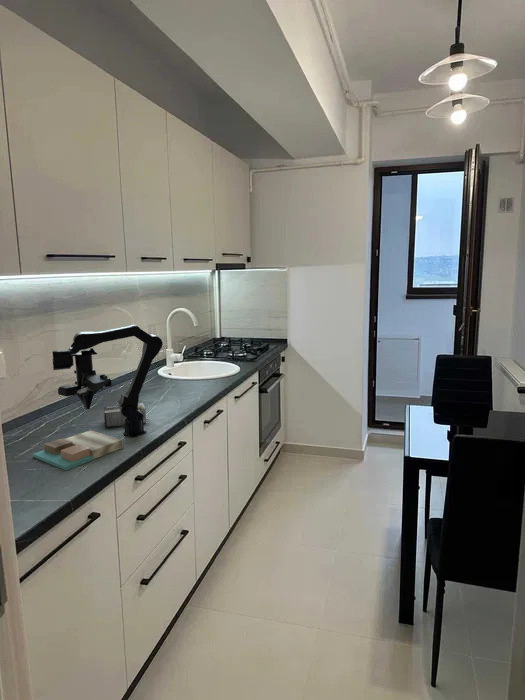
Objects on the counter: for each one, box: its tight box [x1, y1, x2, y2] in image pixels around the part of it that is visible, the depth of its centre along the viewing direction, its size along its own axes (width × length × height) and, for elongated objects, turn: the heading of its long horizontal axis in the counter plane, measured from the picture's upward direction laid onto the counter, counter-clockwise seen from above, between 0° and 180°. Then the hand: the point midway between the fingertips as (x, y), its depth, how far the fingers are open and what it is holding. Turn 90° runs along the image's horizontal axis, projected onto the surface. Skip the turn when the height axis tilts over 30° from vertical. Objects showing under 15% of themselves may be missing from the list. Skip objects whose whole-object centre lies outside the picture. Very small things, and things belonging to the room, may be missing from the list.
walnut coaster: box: [43, 438, 73, 455], centre depth 162 cm, size 6×6×2 cm
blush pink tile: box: [61, 444, 90, 462], centre depth 156 cm, size 6×6×2 cm
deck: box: [64, 429, 124, 460], centre depth 166 cm, size 12×18×3 cm, turn 54°
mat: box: [32, 449, 94, 471], centre depth 157 cm, size 10×19×1 cm, turn 54°
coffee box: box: [103, 402, 147, 428], centre depth 193 cm, size 9×6×16 cm
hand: (87, 409), depth 172 cm, fingers closed
